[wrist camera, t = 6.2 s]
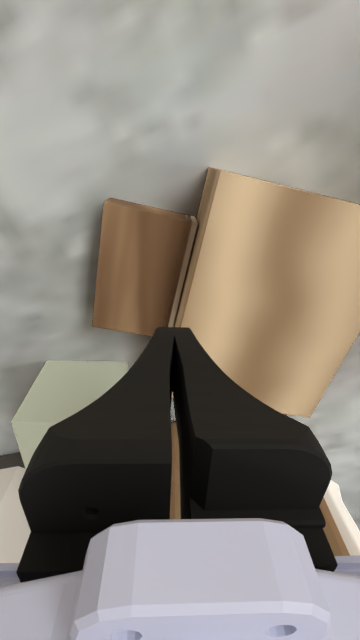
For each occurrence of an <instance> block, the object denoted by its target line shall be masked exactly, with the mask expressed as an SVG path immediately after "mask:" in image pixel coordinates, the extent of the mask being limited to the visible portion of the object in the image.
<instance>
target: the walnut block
mask: <svg viewBox="0 0 360 640" xmlns="http://www.w3.org/2000/svg"><path fill="white" fill-rule="evenodd" d="M197 224H198V223H197V220H196V218H195V217H194V216H190V215H185V214H181V213H176V212H172V211H167V210H163V209H159V208H154V207H150V206H145V205H141V204H136V203H132V202H127V201H123V200H118V199H114V198H109V199H108V200H106V201H105V202H104V205H103V215H102V226H101V236H100V247H99V257H98V268H97V278H96V289H95V299H94V310H93V320H92V326H93V327H99V328H105V329H111V330H117V331H122V332H128V333H134V334H140V335H146V336H153V334H154V332H155V329H156V328H158V327H173V324H174V320H175V316H176V312H177V308H178V303H179V299H180V295H181V291H182V287H183V283H184V278H185V274H186V270H187V266H188V262H189V258H190V254H191V249H192V245H193V241H194V237H195V233H196V229H197Z"/></svg>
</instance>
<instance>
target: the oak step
mask: <svg viewBox="0 0 360 640" xmlns="http://www.w3.org/2000/svg"><path fill="white" fill-rule="evenodd" d="M196 220H197V223H198V224H197V229H196V233H195V237H194V241H193V245H192V249H191V254H190V258H189V262H188V266H187V270H186V274H185V278H184V283H183V287H182V291H181V295H180V299H179V303H178V308H177V312H176V316H175V320H174V324H173V327H189V328H190V329H191V330H192V332H193V333H194V335H195V337H196V338H197V340H198V341H199V343H200V344H201V346H202V347H203V348H204V350H205V351H206V352H207V354H208V355H209V356H210V357H211V359H212V360H213V361H214V362H215V363H216V364H217V365H218V367H219V368H220V369H221V370H222V371H223V372H224V373H225V374H226V375H227V376H228V377H229V378H231V379H232V380H233V381H234V382H235V383H236V384H238V385H239V386H240V387H241V388H243V389H244V390H245V391H247V392H248V393H250V394H251V395H252V396H254V397H255V398H257V399H258V400H260V401H261V402H263V403H264V404H266V405H268V406H269V407H271V408H273V409H275V410H276V411H278V412H280V413H283V414H290V415H297V416H304V417H310V416H311V415H312V413H313V411H314V409H315V408H316V406H317V404H318V403H319V401H320V399H321V397H322V396H323V394H324V392H325V391H326V389H327V387H328V385H329V384H330V382H331V380H332V379H333V377H334V375H335V373H336V372H337V370H338V368H339V366H340V365H341V363H342V361H343V360H344V358H345V356H346V354H347V353H348V351H349V349H350V348H351V346H352V344H353V342H354V341H355V339H356V337H357V336H358V334H359V332H360V204H356V203H352V202H348V201H344V200H340V199H336V198H332V197H328V196H324V195H320V194H316V193H312V192H308V191H304V190H300V189H296V188H292V187H288V186H284V185H280V184H276V183H272V182H268V181H264V180H260V179H256V178H252V177H248V176H244V175H240V174H236V173H232V172H228V171H223V170H219V169H215V168H211V167H209V168H208V172H207V177H206V181H205V185H204V189H203V194H202V198H201V202H200V206H199V210H198V215H197V219H196ZM172 398H173V392H172Z"/></svg>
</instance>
